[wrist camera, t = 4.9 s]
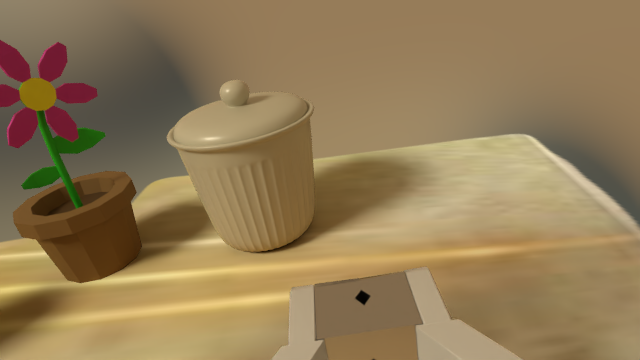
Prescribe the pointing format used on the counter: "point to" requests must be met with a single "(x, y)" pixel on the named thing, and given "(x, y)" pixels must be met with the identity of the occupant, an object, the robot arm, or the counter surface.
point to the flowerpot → (73, 194)
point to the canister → (251, 165)
